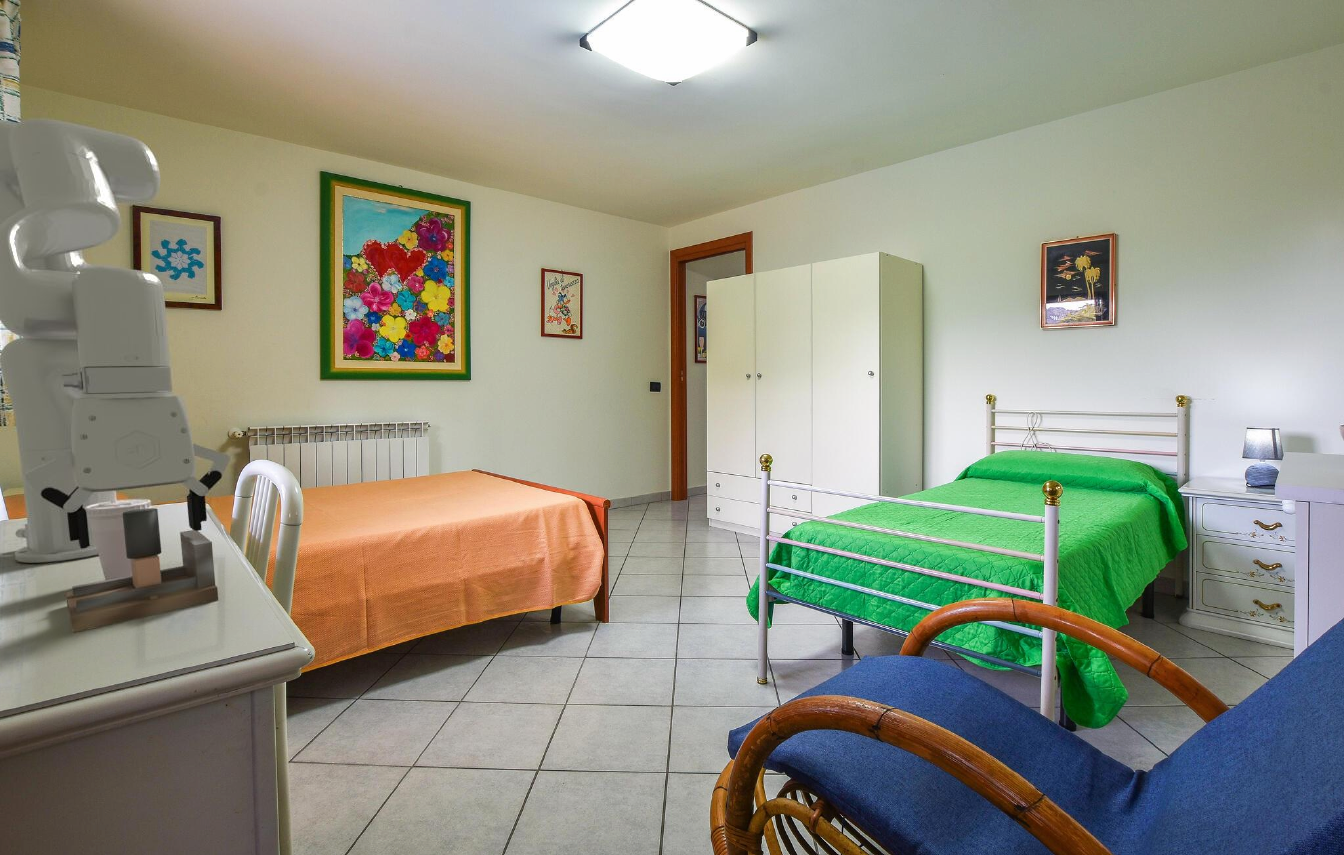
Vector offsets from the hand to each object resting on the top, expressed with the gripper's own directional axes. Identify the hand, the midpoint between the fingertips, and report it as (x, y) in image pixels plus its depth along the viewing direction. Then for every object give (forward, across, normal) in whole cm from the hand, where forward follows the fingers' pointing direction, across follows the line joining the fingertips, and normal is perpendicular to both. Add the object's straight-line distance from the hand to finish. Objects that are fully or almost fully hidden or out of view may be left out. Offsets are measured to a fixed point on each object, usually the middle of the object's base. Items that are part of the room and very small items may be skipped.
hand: (142, 536), depth 71 cm
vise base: (+7, 0, 0) cm, 7 cm away
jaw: (+6, 0, 0) cm, 6 cm away
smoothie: (+8, -1, +13) cm, 15 cm away
